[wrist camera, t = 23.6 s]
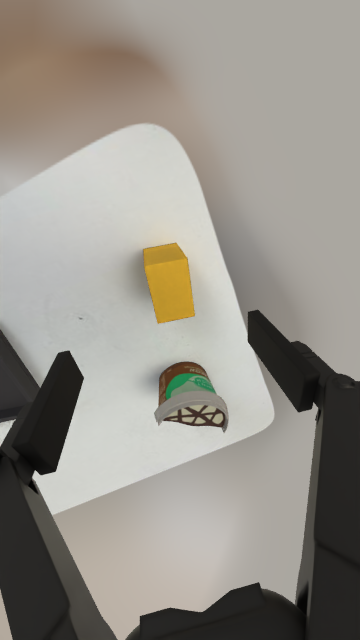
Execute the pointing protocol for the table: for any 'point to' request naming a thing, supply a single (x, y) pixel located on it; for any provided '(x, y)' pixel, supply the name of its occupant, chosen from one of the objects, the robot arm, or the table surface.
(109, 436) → the table surface
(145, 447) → the table surface
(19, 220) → the table surface
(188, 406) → the food container
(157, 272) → the yellow block
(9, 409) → the black shallow rectangular tray
